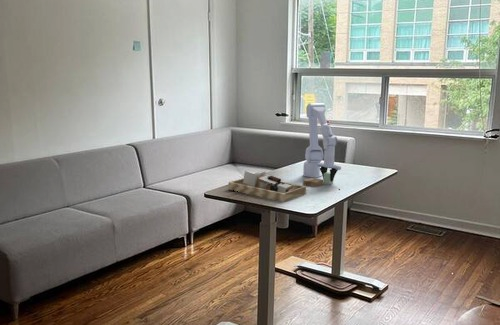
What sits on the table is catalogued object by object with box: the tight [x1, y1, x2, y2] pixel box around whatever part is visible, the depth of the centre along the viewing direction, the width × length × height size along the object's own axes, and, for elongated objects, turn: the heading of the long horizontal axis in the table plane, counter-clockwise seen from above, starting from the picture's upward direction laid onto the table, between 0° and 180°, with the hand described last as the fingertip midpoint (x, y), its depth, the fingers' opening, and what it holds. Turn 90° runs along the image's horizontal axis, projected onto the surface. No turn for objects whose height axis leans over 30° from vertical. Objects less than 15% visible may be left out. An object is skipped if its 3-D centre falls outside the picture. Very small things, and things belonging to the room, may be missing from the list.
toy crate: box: [228, 177, 307, 203], centre depth 252 cm, size 36×20×4 cm, turn 51°
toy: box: [243, 170, 295, 193], centre depth 252 cm, size 12×10×30 cm
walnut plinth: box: [302, 177, 324, 188], centre depth 269 cm, size 8×8×3 cm
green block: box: [322, 171, 334, 186], centre depth 272 cm, size 4×4×6 cm
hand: (328, 180), depth 272 cm, fingers closed on green block, 4 cm apart
